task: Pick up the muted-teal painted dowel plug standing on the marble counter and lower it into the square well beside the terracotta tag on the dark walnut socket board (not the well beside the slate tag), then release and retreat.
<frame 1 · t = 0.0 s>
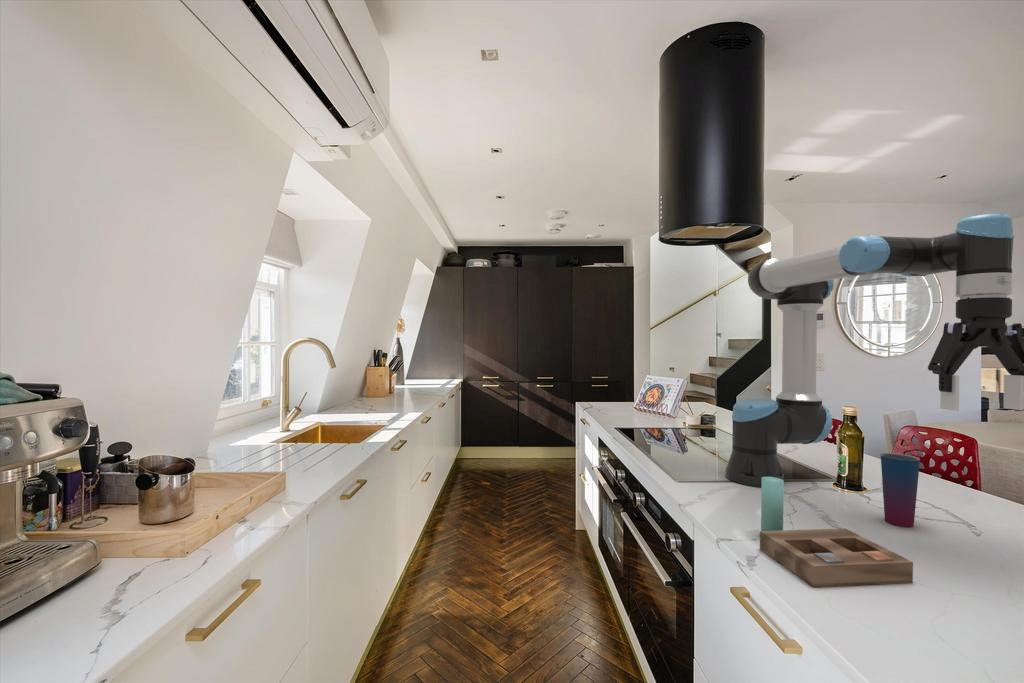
hand: (981, 409, 88), 28 cm above the worktop, fingers open, 13 cm apart
plug: (771, 537, 96), on the worktop
cup: (899, 523, 104), on the worktop
socket board: (830, 564, 84), on the worktop
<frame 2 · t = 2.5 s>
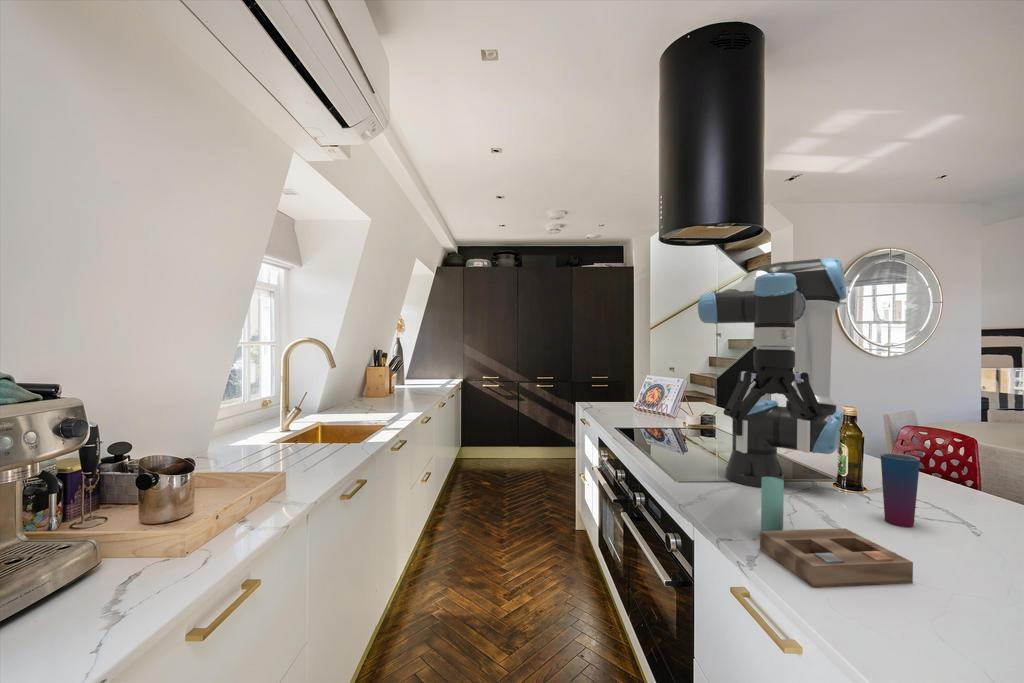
hand: (772, 451, 95), 18 cm above the worktop, fingers open, 13 cm apart
nothing on the worktop moved.
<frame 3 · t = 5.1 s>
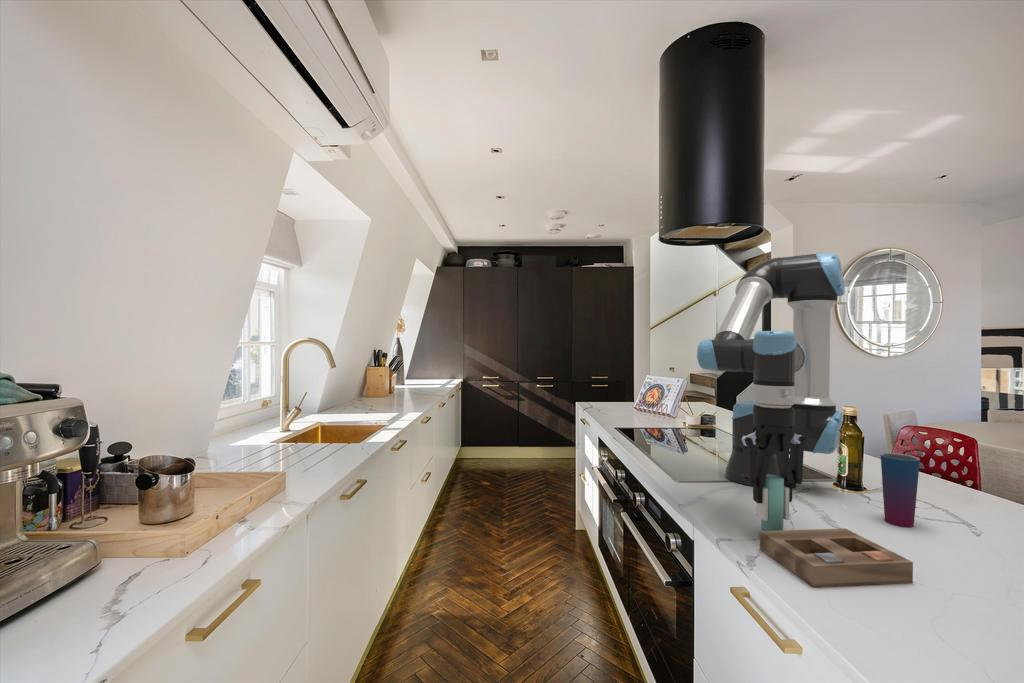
hand: (772, 517, 96), 4 cm above the worktop, fingers closed on plug, 4 cm apart
plug: (772, 534, 96), on the worktop, touching gripper
everything else where it was.
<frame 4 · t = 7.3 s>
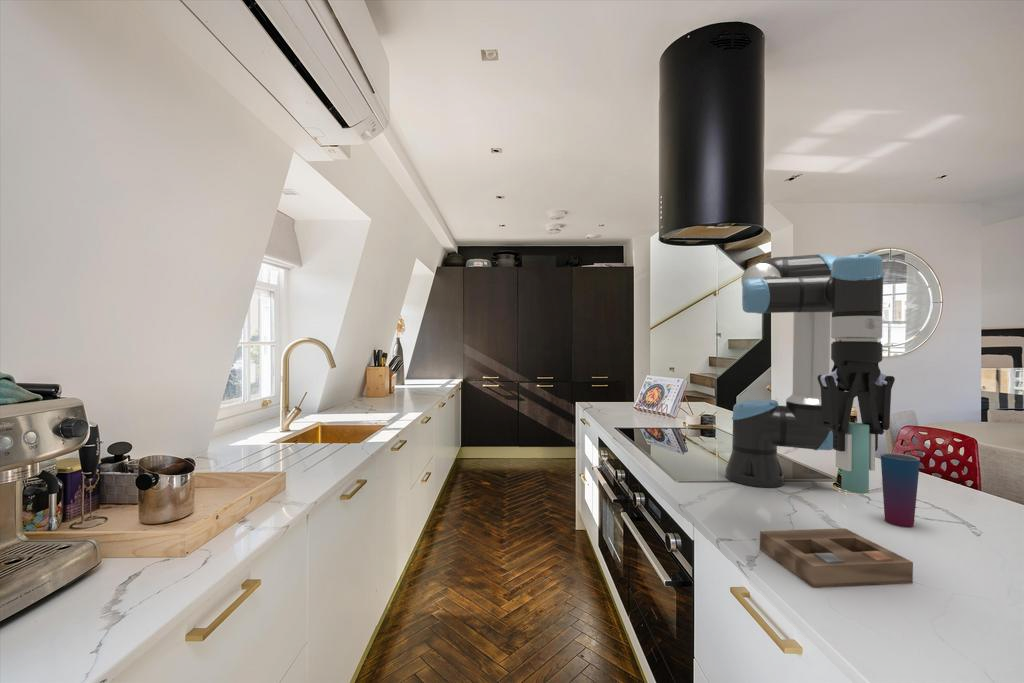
hand: (855, 468, 84), 18 cm above the worktop, fingers closed on plug, 4 cm apart
plug: (854, 489, 84), point 14 cm above the worktop, touching gripper
everything else where it was.
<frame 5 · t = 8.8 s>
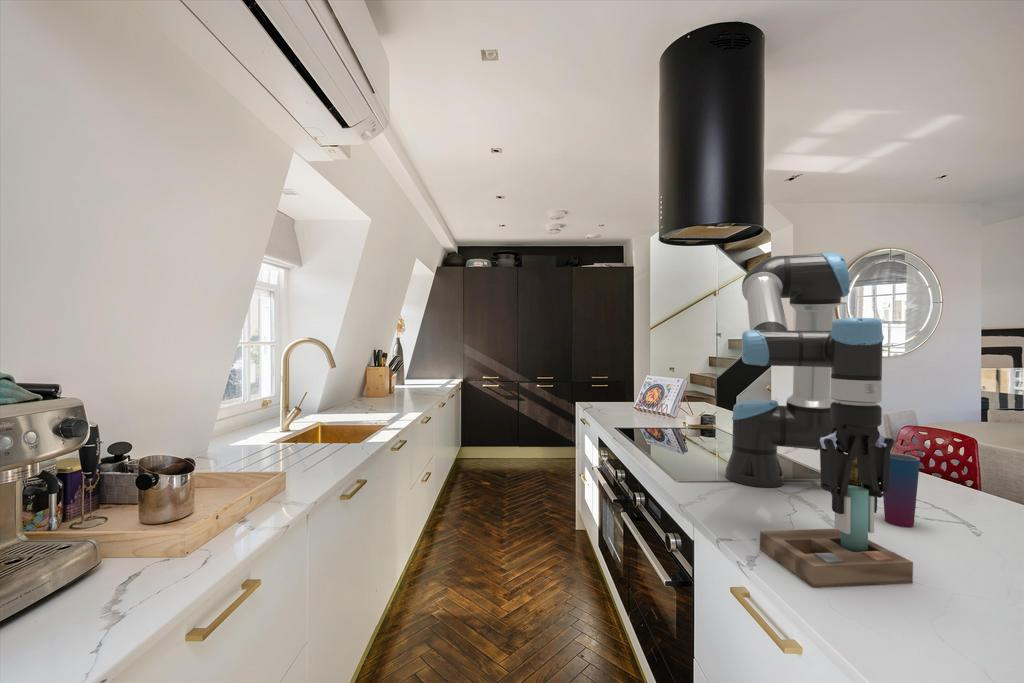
hand: (854, 530, 84), 6 cm above the worktop, fingers closed on plug, 4 cm apart
plug: (853, 554, 84), point 2 cm above the worktop, touching gripper
everything else where it was.
when the fingers open (5 cm above the worktop, at t = 9.8 s): plug stays where it is, resting on socket board.
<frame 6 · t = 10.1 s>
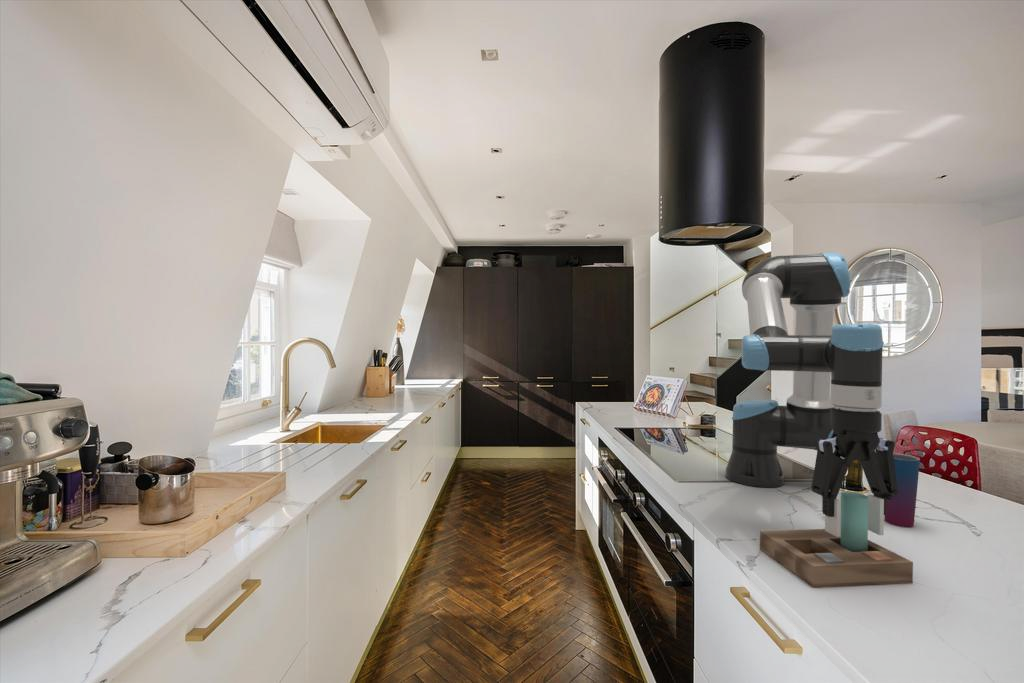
hand: (853, 532, 84), 6 cm above the worktop, fingers open, 8 cm apart
plug: (853, 561, 84), point 1 cm above the worktop, touching socket board
everything else where it was.
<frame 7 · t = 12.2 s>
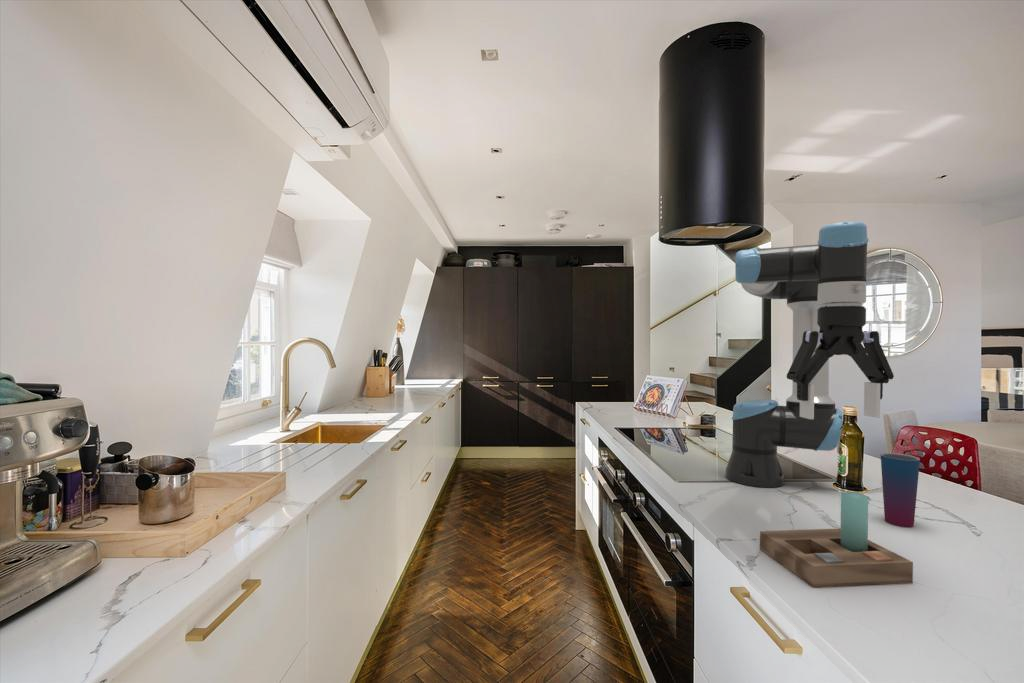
hand: (839, 417, 88), 26 cm above the worktop, fingers open, 13 cm apart
nothing on the worktop moved.
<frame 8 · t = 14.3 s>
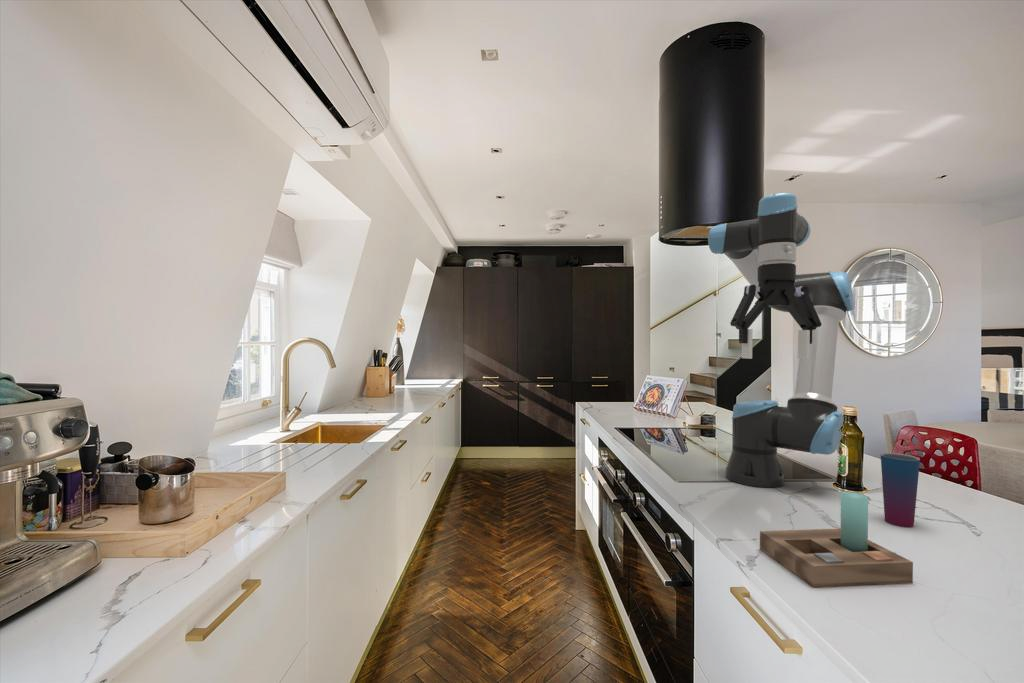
hand: (775, 358, 104), 37 cm above the worktop, fingers open, 13 cm apart
nothing on the worktop moved.
at the end: plug 0.0 cm from the target spot on the socket board, point 0.5 cm above the socket board's base; plug tilted 0°; the gripper is holding nothing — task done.
